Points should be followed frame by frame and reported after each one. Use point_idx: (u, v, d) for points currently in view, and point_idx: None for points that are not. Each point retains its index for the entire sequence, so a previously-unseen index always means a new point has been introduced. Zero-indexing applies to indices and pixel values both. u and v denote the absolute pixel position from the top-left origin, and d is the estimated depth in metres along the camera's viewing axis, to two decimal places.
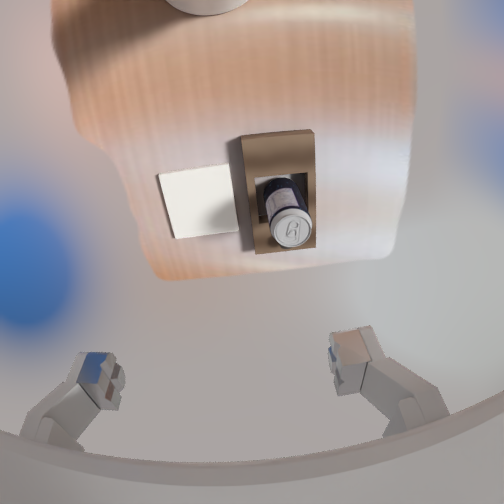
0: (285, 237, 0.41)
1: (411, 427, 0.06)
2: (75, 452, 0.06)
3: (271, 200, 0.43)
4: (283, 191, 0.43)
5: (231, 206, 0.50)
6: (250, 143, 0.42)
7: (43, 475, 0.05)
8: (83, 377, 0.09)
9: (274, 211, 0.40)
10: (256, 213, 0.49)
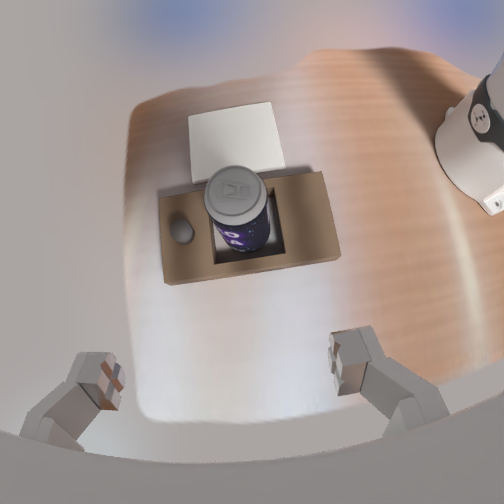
0: (221, 183, 0.27)
1: (411, 427, 0.06)
2: (75, 452, 0.06)
3: None
4: None
5: None
6: (318, 181, 0.36)
7: (43, 475, 0.05)
8: (83, 377, 0.09)
9: None
10: None
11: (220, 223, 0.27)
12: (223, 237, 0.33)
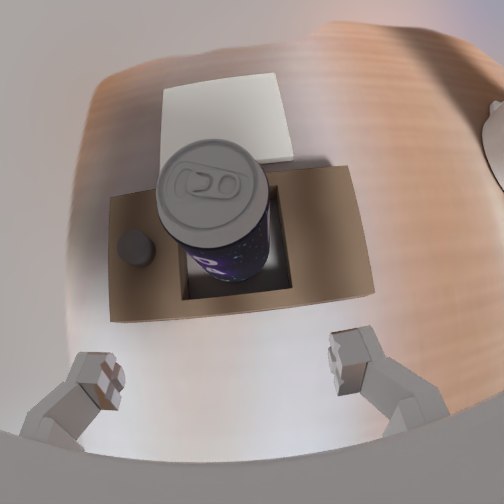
0: (187, 169, 0.14)
1: (411, 427, 0.06)
2: (75, 452, 0.06)
3: None
4: None
5: None
6: (343, 179, 0.24)
7: (43, 475, 0.05)
8: (83, 377, 0.09)
9: None
10: None
11: (181, 243, 0.14)
12: None
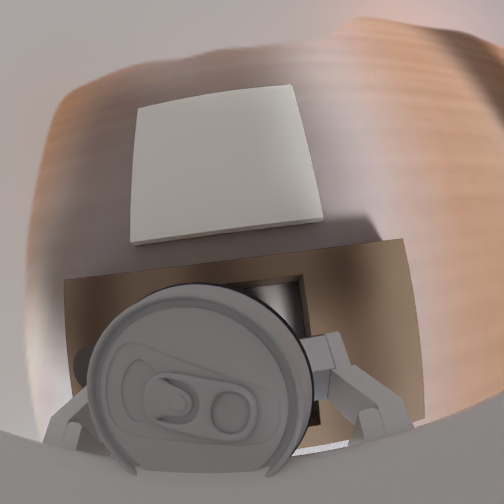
0: (142, 361, 0.06)
1: (370, 439, 0.06)
2: (75, 452, 0.06)
3: None
4: None
5: (202, 223, 0.19)
6: (397, 261, 0.16)
7: (43, 475, 0.05)
8: None
9: None
10: None
11: None
12: None
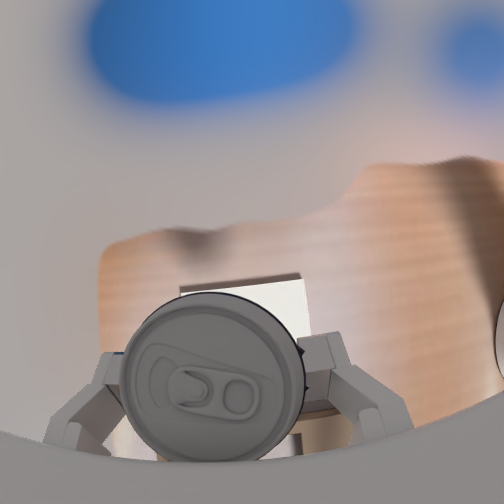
0: (166, 358, 0.08)
1: (370, 439, 0.06)
2: (75, 452, 0.06)
3: None
4: None
5: None
6: None
7: (43, 475, 0.05)
8: (111, 378, 0.09)
9: None
10: None
11: None
12: None
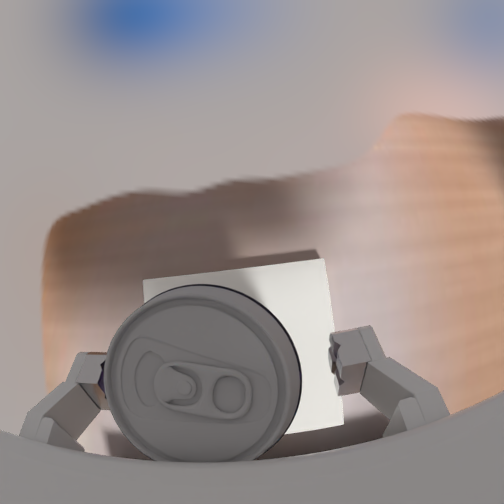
0: (153, 353, 0.07)
1: (411, 427, 0.06)
2: (75, 452, 0.06)
3: None
4: None
5: None
6: None
7: (43, 475, 0.05)
8: (83, 377, 0.09)
9: (263, 307, 0.09)
10: None
11: None
12: None
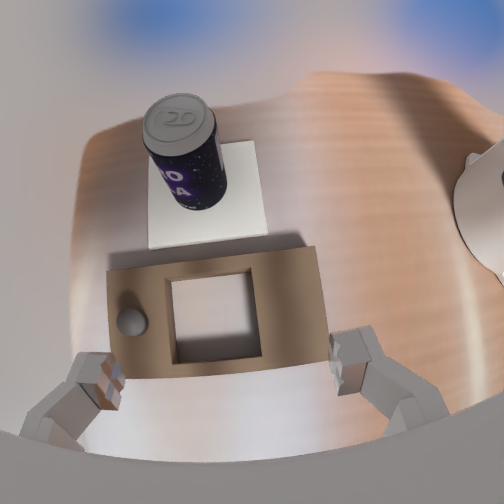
0: (163, 111, 0.21)
1: (411, 427, 0.06)
2: (75, 452, 0.06)
3: None
4: None
5: (193, 236, 0.31)
6: (310, 259, 0.28)
7: (43, 475, 0.05)
8: (83, 377, 0.09)
9: None
10: (183, 271, 0.28)
11: (157, 155, 0.21)
12: (169, 188, 0.27)
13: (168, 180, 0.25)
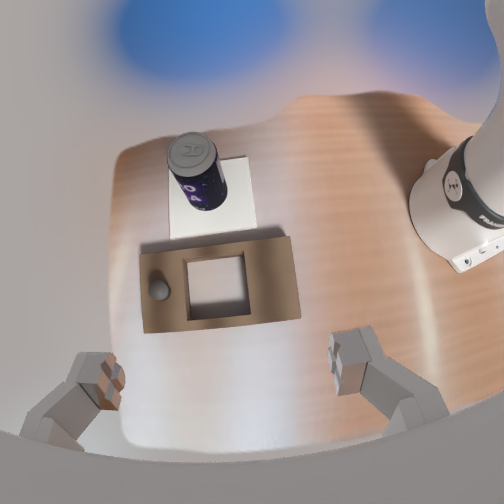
0: (181, 145, 0.32)
1: (411, 427, 0.06)
2: (75, 452, 0.06)
3: None
4: (222, 170, 0.38)
5: (203, 229, 0.42)
6: (286, 245, 0.39)
7: (43, 475, 0.05)
8: (83, 377, 0.09)
9: None
10: (196, 254, 0.40)
11: (178, 176, 0.33)
12: (186, 195, 0.39)
13: (185, 190, 0.37)
